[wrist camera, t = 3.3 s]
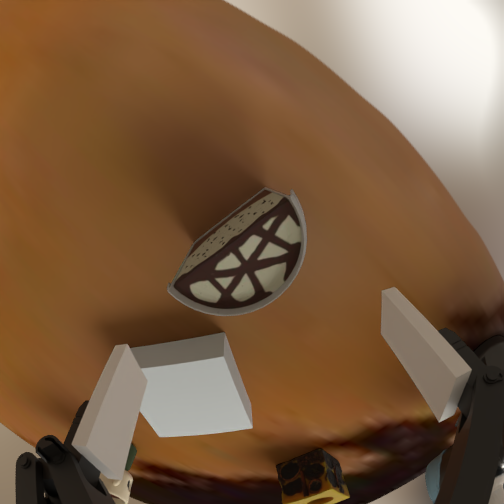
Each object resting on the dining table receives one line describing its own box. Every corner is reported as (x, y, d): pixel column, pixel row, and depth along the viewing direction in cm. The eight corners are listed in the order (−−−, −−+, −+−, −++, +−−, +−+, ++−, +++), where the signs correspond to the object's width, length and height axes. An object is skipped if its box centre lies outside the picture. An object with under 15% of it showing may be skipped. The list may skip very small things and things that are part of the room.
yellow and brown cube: (274, 464, 47) (280, 505, 38) (320, 446, 45) (331, 488, 36) (298, 477, 50) (305, 513, 41) (340, 461, 49) (351, 497, 39)
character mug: (130, 459, 45) (118, 509, 33) (98, 444, 44) (83, 494, 31) (148, 441, 43) (136, 499, 30) (112, 424, 41) (94, 482, 29)
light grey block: (224, 330, 35) (223, 356, 30) (250, 402, 40) (252, 428, 35) (124, 347, 35) (113, 371, 31) (164, 413, 40) (159, 437, 36)
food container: (219, 291, 33) (215, 347, 23) (183, 250, 31) (162, 295, 22) (311, 225, 31) (343, 259, 21) (277, 177, 29) (297, 192, 20)
